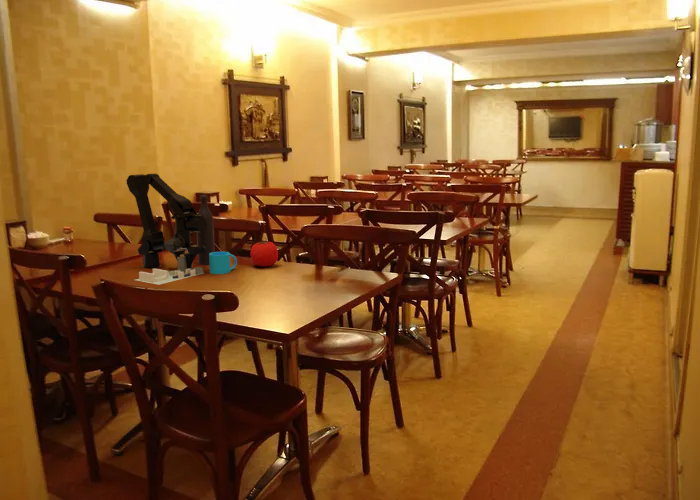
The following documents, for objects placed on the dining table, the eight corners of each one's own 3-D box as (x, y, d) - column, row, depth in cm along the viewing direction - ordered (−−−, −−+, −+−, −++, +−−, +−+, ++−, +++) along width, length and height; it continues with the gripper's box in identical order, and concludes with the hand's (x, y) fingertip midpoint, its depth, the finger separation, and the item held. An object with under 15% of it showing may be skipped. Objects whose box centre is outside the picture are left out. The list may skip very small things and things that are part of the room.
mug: (216, 276, 235) (215, 256, 234) (206, 273, 241) (205, 253, 239) (242, 272, 243) (241, 252, 242) (231, 268, 249) (231, 249, 247)
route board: (133, 281, 226) (133, 279, 226) (180, 270, 245) (180, 268, 245) (158, 286, 219) (158, 284, 219) (204, 274, 238) (204, 273, 238)
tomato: (275, 262, 261) (275, 237, 259) (281, 268, 250) (280, 242, 248) (248, 264, 257) (247, 239, 255) (252, 270, 247) (252, 243, 245)
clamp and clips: (173, 277, 230) (172, 271, 229) (196, 272, 240) (196, 266, 239) (181, 279, 228) (180, 273, 227) (204, 273, 238) (203, 267, 237)
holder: (138, 279, 227) (138, 271, 226) (154, 275, 233) (153, 268, 232) (154, 282, 222) (153, 274, 222) (169, 278, 228) (168, 271, 228)
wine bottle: (217, 265, 256) (214, 195, 250) (201, 267, 252) (198, 196, 246) (211, 262, 261) (208, 194, 256) (195, 264, 258) (192, 195, 252)
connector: (177, 271, 241) (177, 254, 240) (185, 269, 244) (184, 253, 243) (184, 272, 239) (184, 255, 238) (192, 270, 242) (191, 254, 241)
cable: (172, 278, 228) (171, 276, 228) (192, 273, 237) (192, 271, 237) (176, 279, 227) (176, 277, 227) (196, 274, 236) (196, 272, 236)
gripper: (151, 231, 237) (153, 269, 240) (184, 235, 227) (186, 275, 230) (172, 227, 246) (174, 264, 249) (205, 231, 236) (207, 269, 239)
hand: (184, 268), depth 242 cm, fingers closed on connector, 4 cm apart
